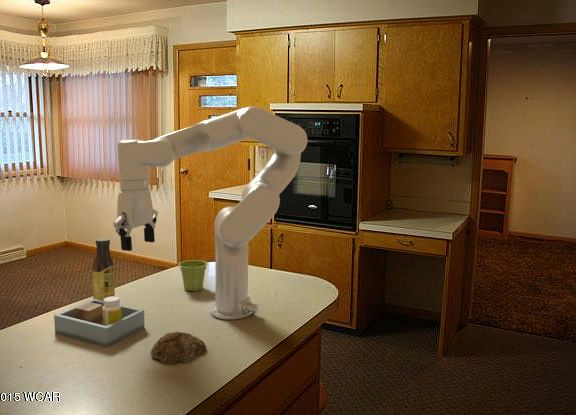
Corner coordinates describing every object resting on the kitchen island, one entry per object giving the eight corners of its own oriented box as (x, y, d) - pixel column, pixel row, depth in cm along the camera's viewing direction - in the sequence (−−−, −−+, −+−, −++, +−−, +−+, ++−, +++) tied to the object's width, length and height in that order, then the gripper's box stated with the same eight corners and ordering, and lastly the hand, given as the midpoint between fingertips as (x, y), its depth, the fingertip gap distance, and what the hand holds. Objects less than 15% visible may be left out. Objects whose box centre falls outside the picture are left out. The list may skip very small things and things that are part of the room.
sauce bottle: (108, 307, 159) (105, 243, 155) (89, 305, 160) (86, 241, 156) (119, 300, 165) (117, 238, 162) (100, 298, 166) (98, 236, 163)
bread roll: (172, 338, 139) (172, 320, 138) (212, 349, 134) (212, 330, 133) (139, 358, 128) (139, 339, 127) (181, 370, 122) (181, 350, 122)
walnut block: (103, 322, 145) (102, 304, 144) (89, 328, 141) (88, 311, 140) (89, 319, 147) (88, 301, 146) (75, 325, 143) (74, 307, 142)
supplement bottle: (126, 326, 142) (124, 297, 141) (115, 333, 138) (113, 302, 136) (110, 324, 144) (109, 294, 142) (99, 331, 139) (98, 300, 138)
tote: (144, 327, 145) (144, 310, 144) (107, 347, 132) (106, 328, 132) (94, 315, 152) (94, 298, 151) (55, 333, 140) (54, 315, 139)
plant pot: (174, 287, 178) (174, 262, 177) (199, 282, 184) (199, 258, 182) (186, 295, 171) (186, 269, 169) (212, 290, 176) (212, 264, 175)
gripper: (143, 180, 154) (147, 237, 157) (101, 189, 139) (106, 252, 142) (165, 181, 151) (168, 240, 154) (123, 190, 136) (128, 255, 139)
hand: (138, 245), depth 148 cm, fingers open, 9 cm apart
